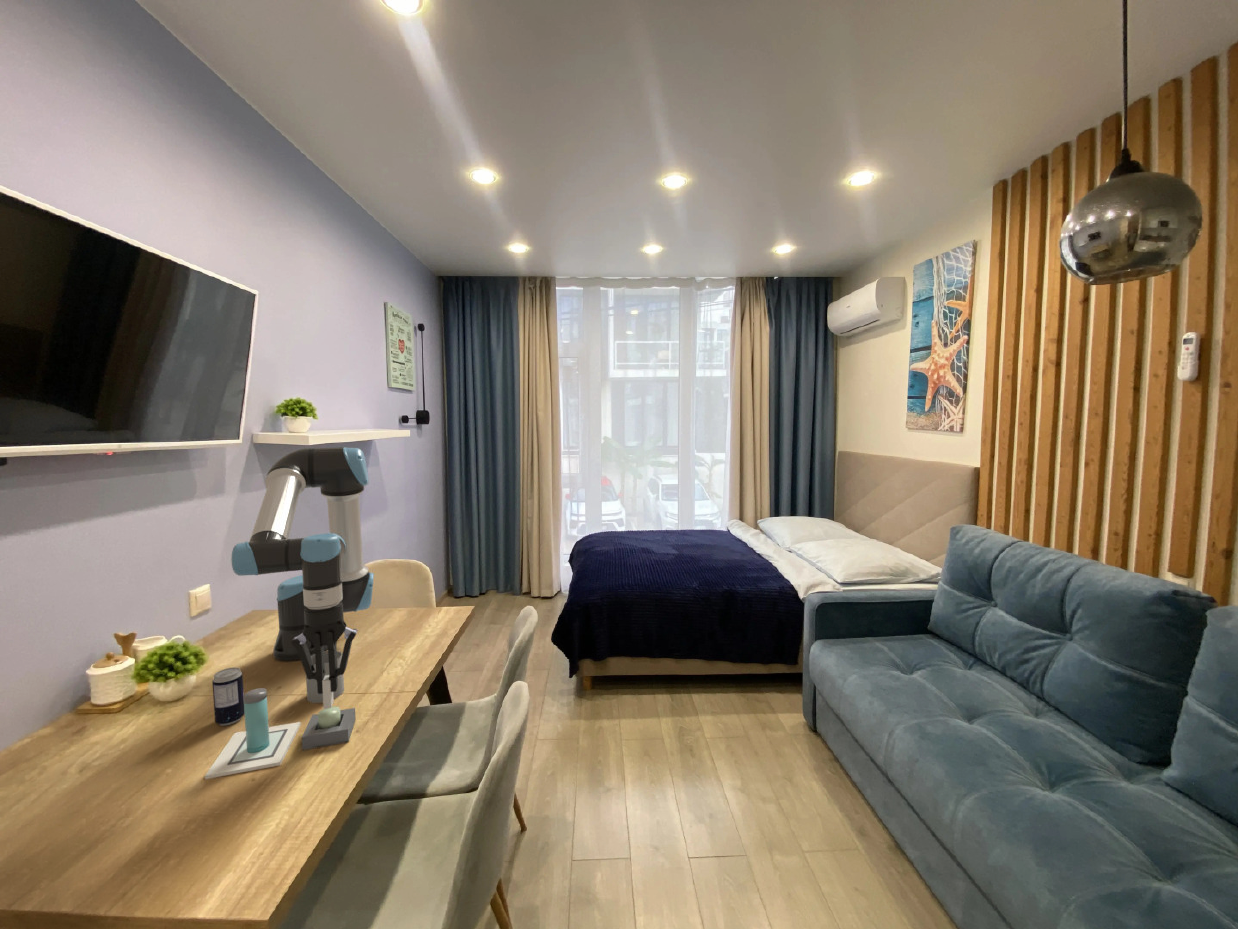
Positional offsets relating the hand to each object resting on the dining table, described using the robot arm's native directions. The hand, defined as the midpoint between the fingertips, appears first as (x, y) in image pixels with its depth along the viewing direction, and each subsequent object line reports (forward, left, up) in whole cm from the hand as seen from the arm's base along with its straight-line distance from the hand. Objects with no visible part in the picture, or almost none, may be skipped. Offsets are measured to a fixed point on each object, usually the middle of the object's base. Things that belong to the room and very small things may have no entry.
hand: (328, 705), depth 114 cm
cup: (-20, -5, -7) cm, 22 cm away
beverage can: (-14, -24, -7) cm, 29 cm away
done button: (0, 0, -5) cm, 5 cm away
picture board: (+1, -14, -7) cm, 16 cm away
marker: (+1, -14, -6) cm, 15 cm away
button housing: (0, 0, -7) cm, 7 cm away
